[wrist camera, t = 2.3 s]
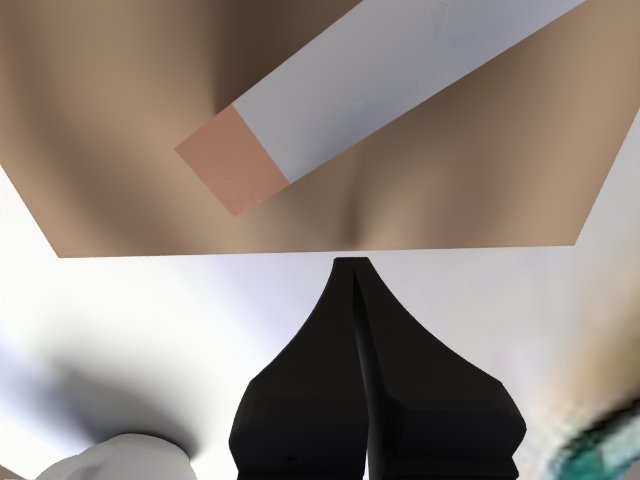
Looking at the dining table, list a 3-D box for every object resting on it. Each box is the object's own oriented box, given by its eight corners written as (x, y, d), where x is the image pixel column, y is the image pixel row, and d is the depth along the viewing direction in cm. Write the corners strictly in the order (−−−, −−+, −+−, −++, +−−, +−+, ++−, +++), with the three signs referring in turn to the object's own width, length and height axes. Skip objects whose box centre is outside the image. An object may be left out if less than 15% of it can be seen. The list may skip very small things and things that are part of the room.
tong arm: (603, -178, 7) (772, -320, 4) (615, -54, 8) (757, -107, 5) (212, 125, 10) (173, 148, 8) (256, 181, 11) (235, 218, 9)
